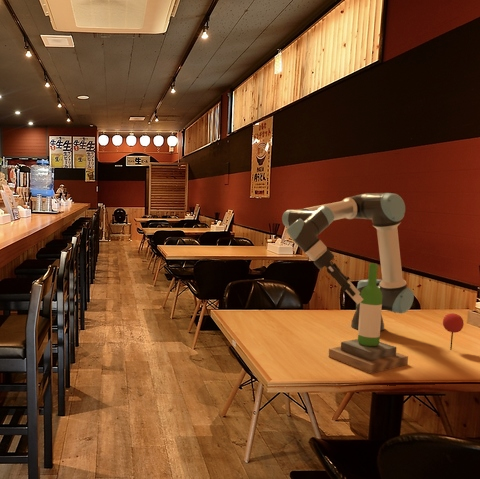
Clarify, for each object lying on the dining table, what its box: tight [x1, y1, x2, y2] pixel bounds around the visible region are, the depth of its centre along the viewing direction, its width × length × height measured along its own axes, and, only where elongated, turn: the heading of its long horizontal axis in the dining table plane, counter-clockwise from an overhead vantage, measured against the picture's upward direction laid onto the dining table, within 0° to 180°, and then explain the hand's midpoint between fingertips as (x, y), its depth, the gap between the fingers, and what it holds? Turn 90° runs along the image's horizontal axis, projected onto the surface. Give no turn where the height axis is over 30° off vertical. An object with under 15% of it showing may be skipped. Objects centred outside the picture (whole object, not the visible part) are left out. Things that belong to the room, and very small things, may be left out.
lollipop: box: [442, 313, 465, 351], centre depth 190 cm, size 8×8×15 cm
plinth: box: [328, 338, 409, 374], centre depth 171 cm, size 20×20×6 cm
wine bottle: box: [357, 262, 383, 347], centre depth 170 cm, size 8×8×30 cm
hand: (359, 298), depth 170 cm, fingers open, 13 cm apart
